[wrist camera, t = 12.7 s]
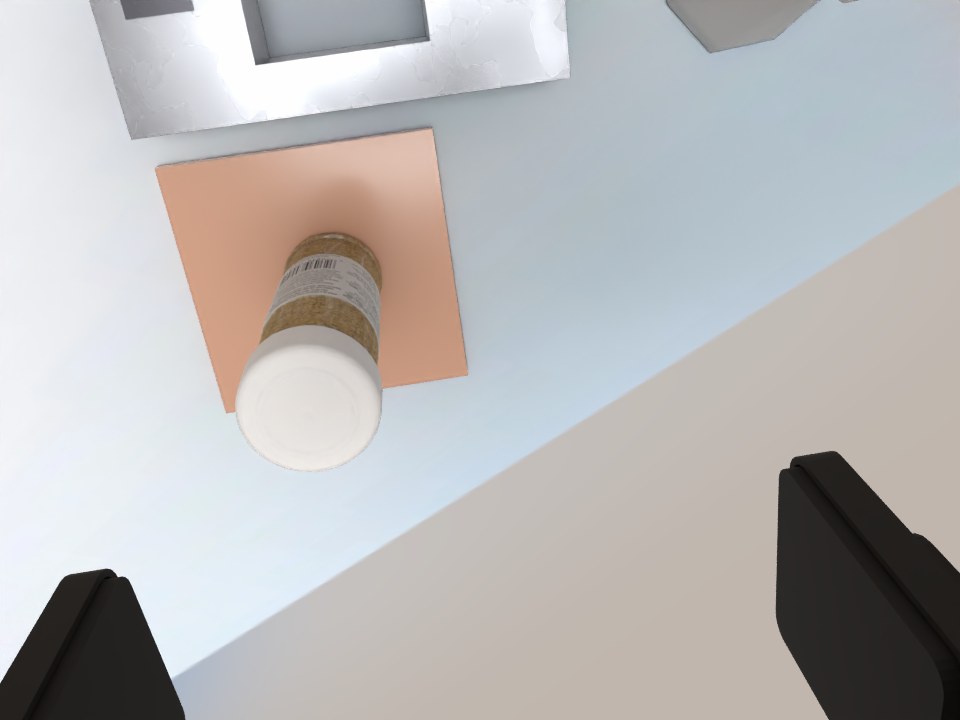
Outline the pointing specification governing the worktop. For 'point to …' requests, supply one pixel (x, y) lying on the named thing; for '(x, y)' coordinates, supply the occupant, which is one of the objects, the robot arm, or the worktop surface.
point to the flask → (738, 19)
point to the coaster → (312, 211)
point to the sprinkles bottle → (317, 359)
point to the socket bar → (312, 61)
